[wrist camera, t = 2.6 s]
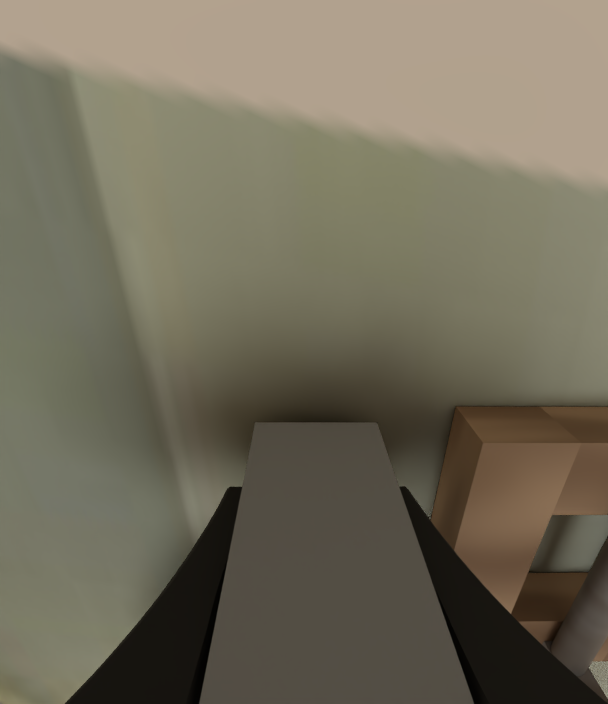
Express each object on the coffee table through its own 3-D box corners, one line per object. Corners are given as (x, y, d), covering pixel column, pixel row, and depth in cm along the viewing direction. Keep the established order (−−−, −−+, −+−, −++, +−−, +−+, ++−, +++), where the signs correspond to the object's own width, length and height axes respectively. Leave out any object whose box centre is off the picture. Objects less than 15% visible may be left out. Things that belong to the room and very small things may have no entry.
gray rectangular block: (366, 511, 13) (431, 812, 7) (260, 511, 13) (221, 815, 7) (376, 422, 11) (474, 706, 5) (255, 422, 11) (198, 708, 5)
